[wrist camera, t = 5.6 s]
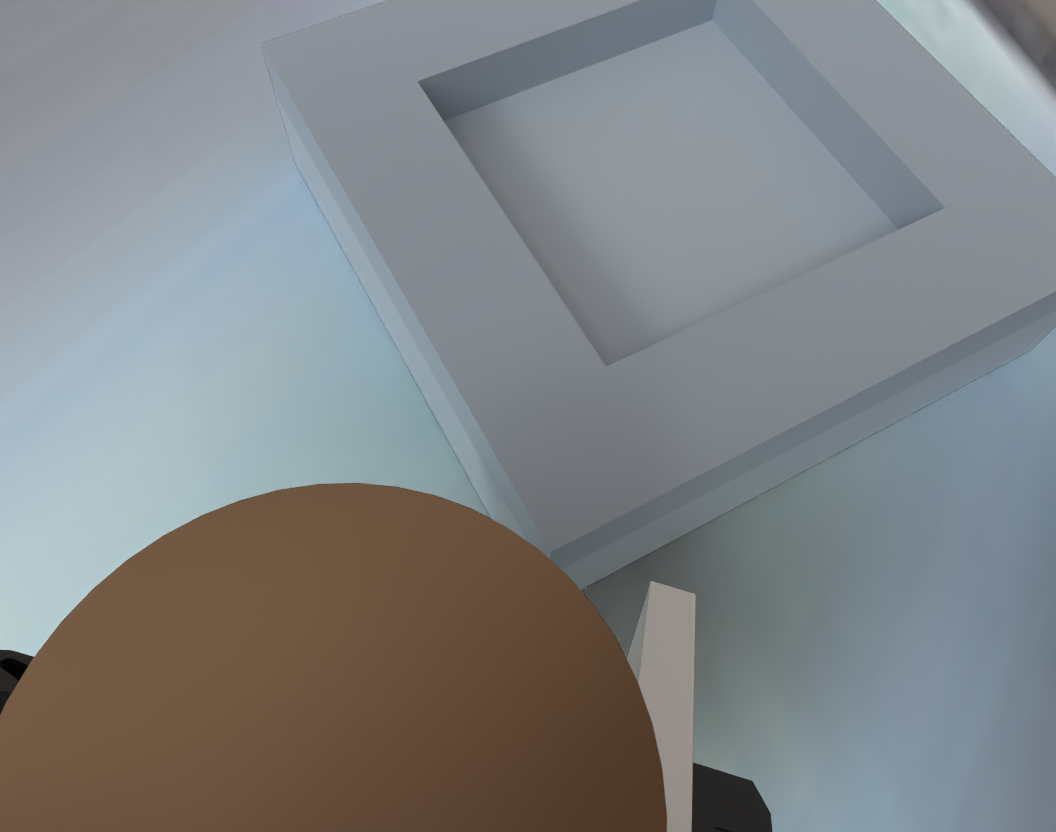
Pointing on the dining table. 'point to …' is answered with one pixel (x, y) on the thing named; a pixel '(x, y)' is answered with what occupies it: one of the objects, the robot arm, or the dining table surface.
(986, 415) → the dining table surface
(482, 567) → the post
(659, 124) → the slab
